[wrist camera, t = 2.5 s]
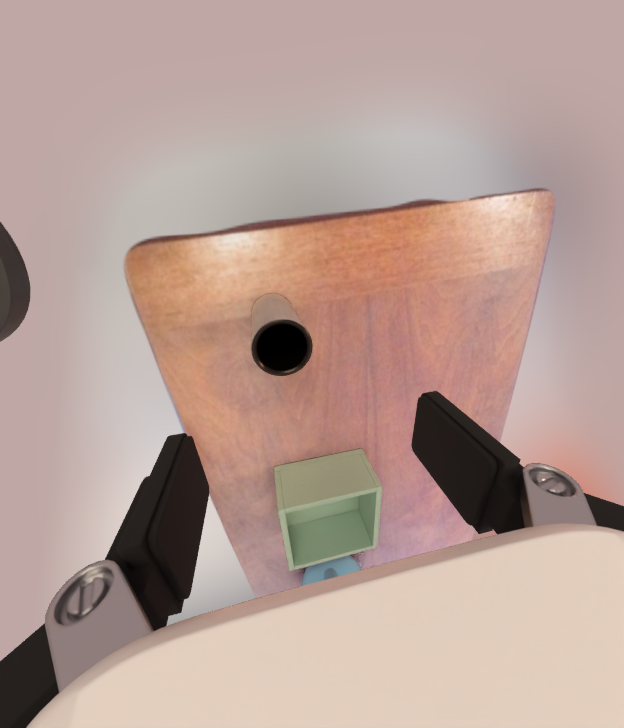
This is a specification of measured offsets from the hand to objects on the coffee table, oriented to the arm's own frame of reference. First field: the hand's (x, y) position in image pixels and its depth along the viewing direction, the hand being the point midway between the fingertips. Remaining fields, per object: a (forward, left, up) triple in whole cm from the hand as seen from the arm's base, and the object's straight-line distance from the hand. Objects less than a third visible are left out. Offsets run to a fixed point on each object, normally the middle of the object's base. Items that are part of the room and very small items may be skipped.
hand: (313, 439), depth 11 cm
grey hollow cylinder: (0, 0, -20) cm, 20 cm away
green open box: (+4, -29, -20) cm, 35 cm away
